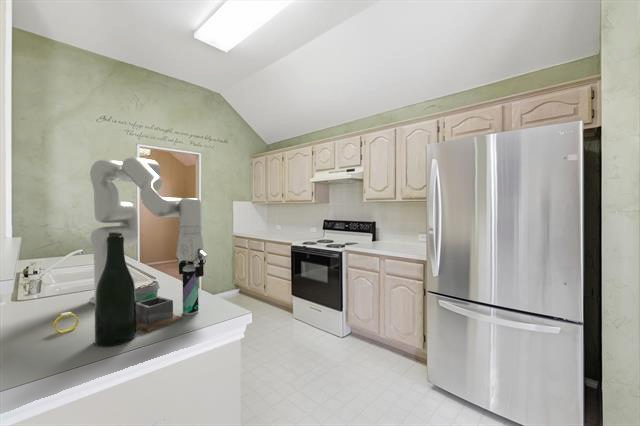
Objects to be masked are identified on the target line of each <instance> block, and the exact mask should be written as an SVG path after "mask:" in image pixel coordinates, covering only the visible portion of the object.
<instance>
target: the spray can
mask: <svg viewBox="0 0 640 426" xmlns="http://www.w3.org/2000/svg"><path fill="white" fill-rule="evenodd" d="M195 267H197V266H196V264H195V262H194V261H192V262H190V261H187V265H186V266H185V267H183V274H182V314H183V315H185V316H191V315H196V314H198V313H199V277H195Z"/></svg>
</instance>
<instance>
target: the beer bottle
mask: <svg viewBox="0 0 640 426" xmlns="http://www.w3.org/2000/svg"><path fill="white" fill-rule="evenodd" d="M108 235H109V237H107V239H106V242H107V255H106V263H105V266H104V269H103V272H102V274H101V276H100V279H99V281H98V283H97V287H96V293H95V304H94V343H95V344H96V345H97V346H100V347H113V346H117V345H121V344H124V343H127V342H129V341H131V340H132V339H133V338H135V337H136V335H137V333H138V331H137V330H138V328H137V320H136V293H135V288H136V285H135V280H134V278H133V276H132V273H131V271H130V269H129V267H128V265H127V261H126V258H125V257H126V255H125V246H124V237H123V236H122V232H110V233H109V234H108Z"/></svg>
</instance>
